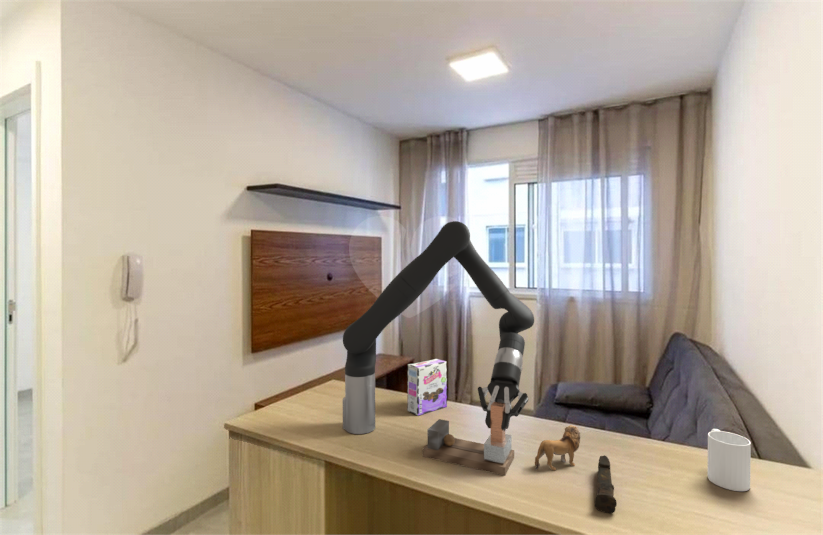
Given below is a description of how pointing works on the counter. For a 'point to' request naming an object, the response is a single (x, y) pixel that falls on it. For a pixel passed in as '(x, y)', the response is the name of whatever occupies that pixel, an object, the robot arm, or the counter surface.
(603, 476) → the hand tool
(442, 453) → the press base
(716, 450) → the mug
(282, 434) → the counter surface
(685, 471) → the counter surface
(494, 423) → the block
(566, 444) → the lion figurine
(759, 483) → the counter surface
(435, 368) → the candy box
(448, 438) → the hazelnut
